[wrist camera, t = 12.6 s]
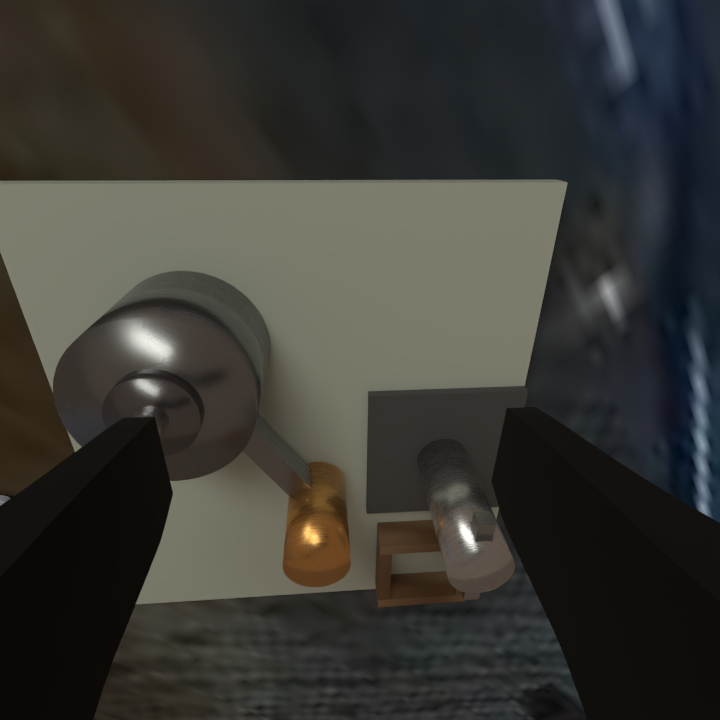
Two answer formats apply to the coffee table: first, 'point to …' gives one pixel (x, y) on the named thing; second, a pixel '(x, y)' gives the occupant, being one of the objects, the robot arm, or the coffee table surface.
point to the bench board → (297, 326)
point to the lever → (306, 509)
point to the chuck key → (463, 520)
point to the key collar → (409, 585)
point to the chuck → (171, 370)
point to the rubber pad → (431, 438)
